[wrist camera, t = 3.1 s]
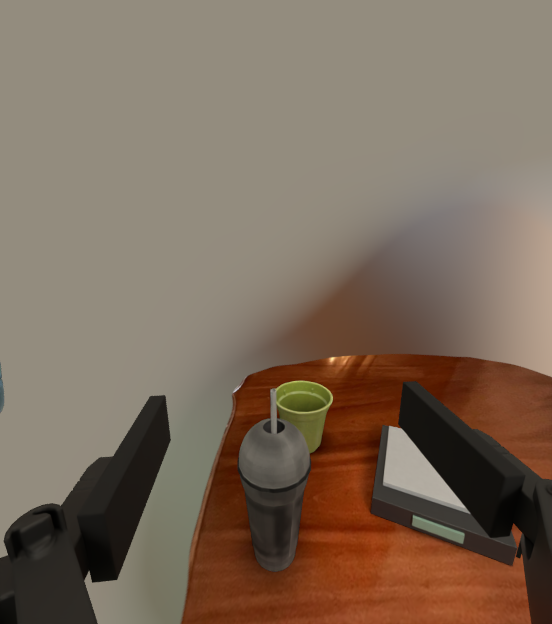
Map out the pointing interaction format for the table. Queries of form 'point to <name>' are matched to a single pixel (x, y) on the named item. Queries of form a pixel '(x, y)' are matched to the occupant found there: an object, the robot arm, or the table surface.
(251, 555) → the table surface
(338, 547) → the table surface
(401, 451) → the scale
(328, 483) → the table surface
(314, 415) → the plant pot
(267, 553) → the beverage cup
